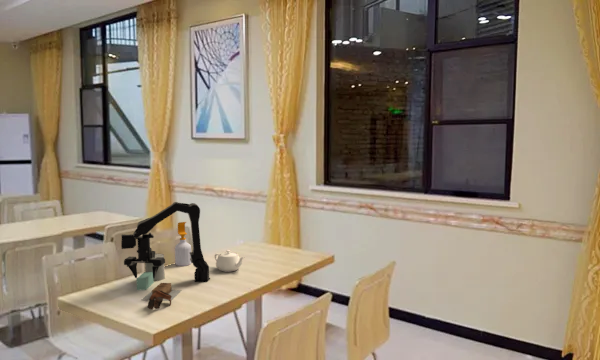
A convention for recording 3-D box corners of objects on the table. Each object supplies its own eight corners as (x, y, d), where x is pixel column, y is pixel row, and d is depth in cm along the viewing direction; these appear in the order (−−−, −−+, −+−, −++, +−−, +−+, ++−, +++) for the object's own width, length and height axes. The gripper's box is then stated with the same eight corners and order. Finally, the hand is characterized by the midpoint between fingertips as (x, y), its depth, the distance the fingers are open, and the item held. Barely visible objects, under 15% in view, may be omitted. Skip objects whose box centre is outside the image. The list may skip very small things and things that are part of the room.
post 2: (171, 291, 229) (171, 283, 229) (167, 294, 224) (167, 286, 224) (161, 290, 230) (161, 282, 229) (157, 294, 225) (156, 286, 224)
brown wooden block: (167, 295, 224) (166, 286, 223) (162, 299, 219) (162, 290, 218) (156, 294, 224) (156, 286, 224) (152, 298, 219) (151, 290, 219)
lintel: (144, 283, 242) (144, 271, 241) (153, 283, 242) (153, 272, 241) (136, 291, 231) (136, 278, 230) (146, 291, 231) (145, 279, 230)
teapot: (206, 269, 265) (205, 250, 264) (223, 263, 276) (223, 245, 275) (236, 276, 253) (235, 256, 251) (253, 270, 264) (252, 250, 262)
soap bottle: (177, 267, 269) (176, 223, 266) (173, 262, 277) (172, 220, 274) (193, 264, 273) (192, 222, 271) (189, 260, 281) (188, 219, 279)
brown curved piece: (146, 305, 214) (155, 287, 216) (166, 313, 215) (174, 296, 217) (144, 308, 202) (153, 289, 204) (165, 317, 203) (173, 298, 205)
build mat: (182, 291, 230) (181, 290, 230) (171, 301, 216) (171, 300, 216) (153, 290, 232) (153, 289, 232) (141, 300, 218) (141, 299, 218)
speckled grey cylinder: (159, 282, 243) (158, 258, 241) (142, 281, 245) (141, 257, 243) (168, 276, 252) (167, 253, 251) (151, 275, 254) (150, 253, 252)
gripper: (168, 243, 241) (169, 273, 243) (133, 242, 243) (134, 272, 245) (159, 249, 230) (161, 280, 232) (122, 248, 232) (124, 279, 234)
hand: (145, 278), depth 236 cm, fingers open, 9 cm apart
